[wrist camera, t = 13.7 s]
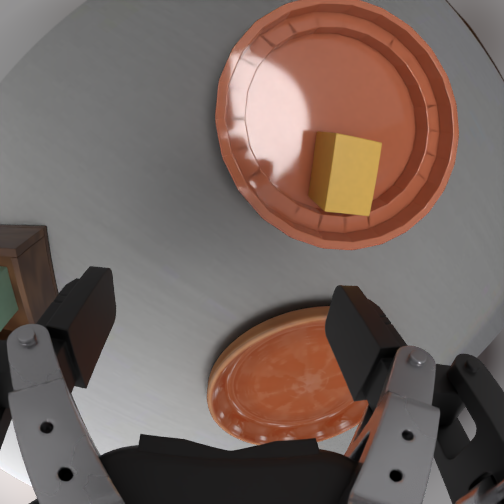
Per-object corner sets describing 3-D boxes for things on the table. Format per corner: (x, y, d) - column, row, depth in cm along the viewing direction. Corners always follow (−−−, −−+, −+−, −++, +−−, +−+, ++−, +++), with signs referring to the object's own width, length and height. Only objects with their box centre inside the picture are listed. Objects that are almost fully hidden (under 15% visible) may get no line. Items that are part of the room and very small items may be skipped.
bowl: (231, -1, 18) (232, -25, 14) (434, 52, 20) (463, 46, 16) (209, 221, 25) (206, 241, 21) (408, 237, 28) (432, 256, 23)
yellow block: (316, 131, 22) (336, 133, 18) (357, 138, 23) (382, 142, 19) (307, 196, 25) (324, 211, 20) (347, 200, 25) (369, 216, 21)
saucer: (193, 306, 28) (190, 330, 25) (408, 284, 30) (425, 302, 26) (219, 433, 38) (220, 454, 34) (370, 411, 39) (378, 429, 36)
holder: (-31, 223, 22) (-61, 242, 17) (46, 225, 24) (15, 249, 19) (-1, 328, 28) (-21, 354, 23) (72, 344, 30) (55, 377, 24)
